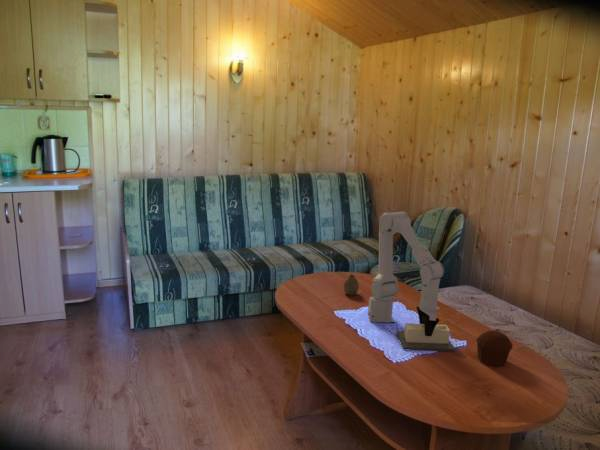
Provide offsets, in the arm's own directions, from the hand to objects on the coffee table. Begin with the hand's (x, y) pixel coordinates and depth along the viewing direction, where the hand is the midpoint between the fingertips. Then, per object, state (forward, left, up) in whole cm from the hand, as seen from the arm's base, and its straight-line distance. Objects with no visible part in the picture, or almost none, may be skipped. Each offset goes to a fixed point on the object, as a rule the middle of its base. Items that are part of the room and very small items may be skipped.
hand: (425, 331), depth 179 cm
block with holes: (+1, 0, -3) cm, 3 cm away
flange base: (0, 0, -4) cm, 4 cm away
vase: (-22, +47, -5) cm, 52 cm away
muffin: (+20, -12, -5) cm, 24 cm away
